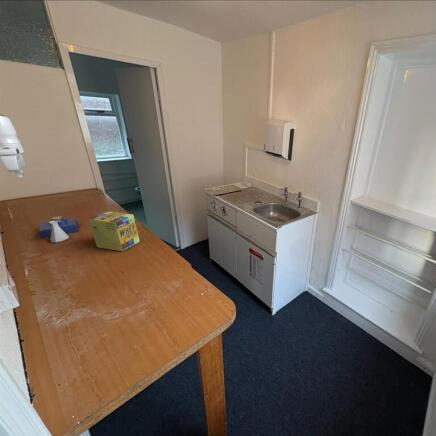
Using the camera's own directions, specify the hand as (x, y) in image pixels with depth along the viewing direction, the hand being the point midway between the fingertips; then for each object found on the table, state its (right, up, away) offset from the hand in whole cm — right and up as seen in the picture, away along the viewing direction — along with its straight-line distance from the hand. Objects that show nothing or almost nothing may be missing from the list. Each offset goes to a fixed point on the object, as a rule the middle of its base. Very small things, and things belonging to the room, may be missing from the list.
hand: (21, 177), depth 119 cm
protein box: (+51, -35, -1) cm, 62 cm away
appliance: (+11, -28, +9) cm, 32 cm away
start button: (+10, -22, +8) cm, 26 cm away
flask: (+19, -32, +1) cm, 37 cm away
